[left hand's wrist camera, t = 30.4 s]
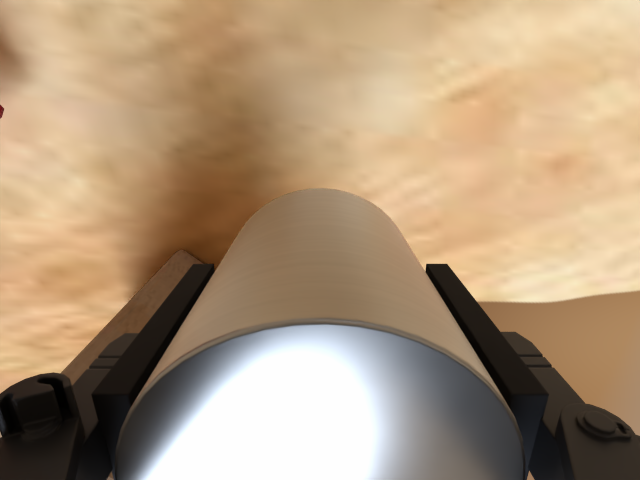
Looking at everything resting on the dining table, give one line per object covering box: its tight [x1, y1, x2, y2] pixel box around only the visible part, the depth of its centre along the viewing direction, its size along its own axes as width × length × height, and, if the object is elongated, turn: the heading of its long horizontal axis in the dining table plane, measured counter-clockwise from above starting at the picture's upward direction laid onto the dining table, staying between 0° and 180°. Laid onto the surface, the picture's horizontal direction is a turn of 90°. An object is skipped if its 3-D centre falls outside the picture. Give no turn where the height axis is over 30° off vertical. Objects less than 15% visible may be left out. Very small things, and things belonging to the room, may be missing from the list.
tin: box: [114, 188, 526, 480], centre depth 12 cm, size 8×8×10 cm
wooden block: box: [60, 250, 203, 480], centre depth 27 cm, size 10×10×20 cm
